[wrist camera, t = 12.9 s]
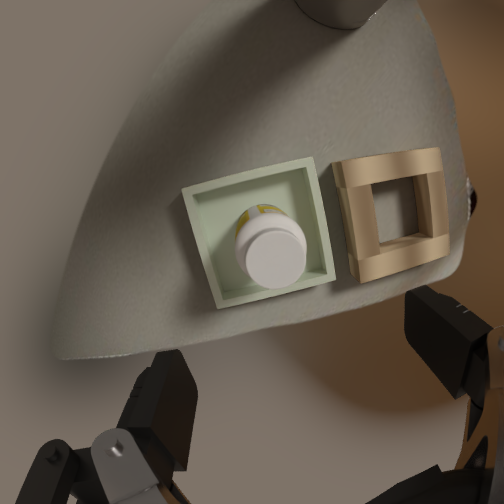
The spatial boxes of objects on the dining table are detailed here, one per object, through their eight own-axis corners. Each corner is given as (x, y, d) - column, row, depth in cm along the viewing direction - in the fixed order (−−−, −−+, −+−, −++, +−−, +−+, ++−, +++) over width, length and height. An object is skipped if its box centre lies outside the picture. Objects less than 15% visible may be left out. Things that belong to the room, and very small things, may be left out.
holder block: (350, 273, 30) (360, 283, 27) (331, 162, 26) (341, 161, 24) (435, 247, 29) (449, 254, 26) (423, 148, 26) (439, 147, 23)
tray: (219, 298, 30) (217, 309, 27) (186, 187, 27) (181, 188, 24) (329, 271, 29) (336, 279, 27) (306, 158, 26) (312, 156, 24)
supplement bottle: (248, 266, 28) (252, 311, 19) (226, 216, 27) (218, 239, 18) (299, 245, 28) (326, 280, 19) (279, 194, 27) (299, 205, 17)
